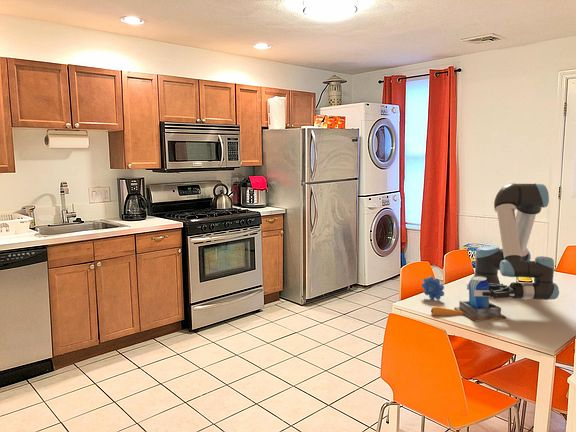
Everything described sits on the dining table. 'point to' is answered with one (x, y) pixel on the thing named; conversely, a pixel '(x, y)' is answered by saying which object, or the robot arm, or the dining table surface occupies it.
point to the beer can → (478, 284)
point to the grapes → (433, 288)
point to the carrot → (445, 311)
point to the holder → (480, 312)
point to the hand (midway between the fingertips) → (470, 289)
